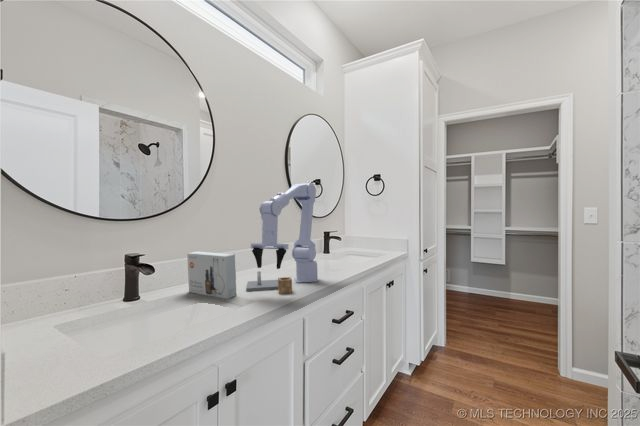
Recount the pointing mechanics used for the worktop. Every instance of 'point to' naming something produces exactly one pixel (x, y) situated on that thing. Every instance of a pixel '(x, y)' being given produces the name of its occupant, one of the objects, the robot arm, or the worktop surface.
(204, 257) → the skincare box
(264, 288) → the grey flat block
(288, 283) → the oak bead
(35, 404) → the worktop surface
